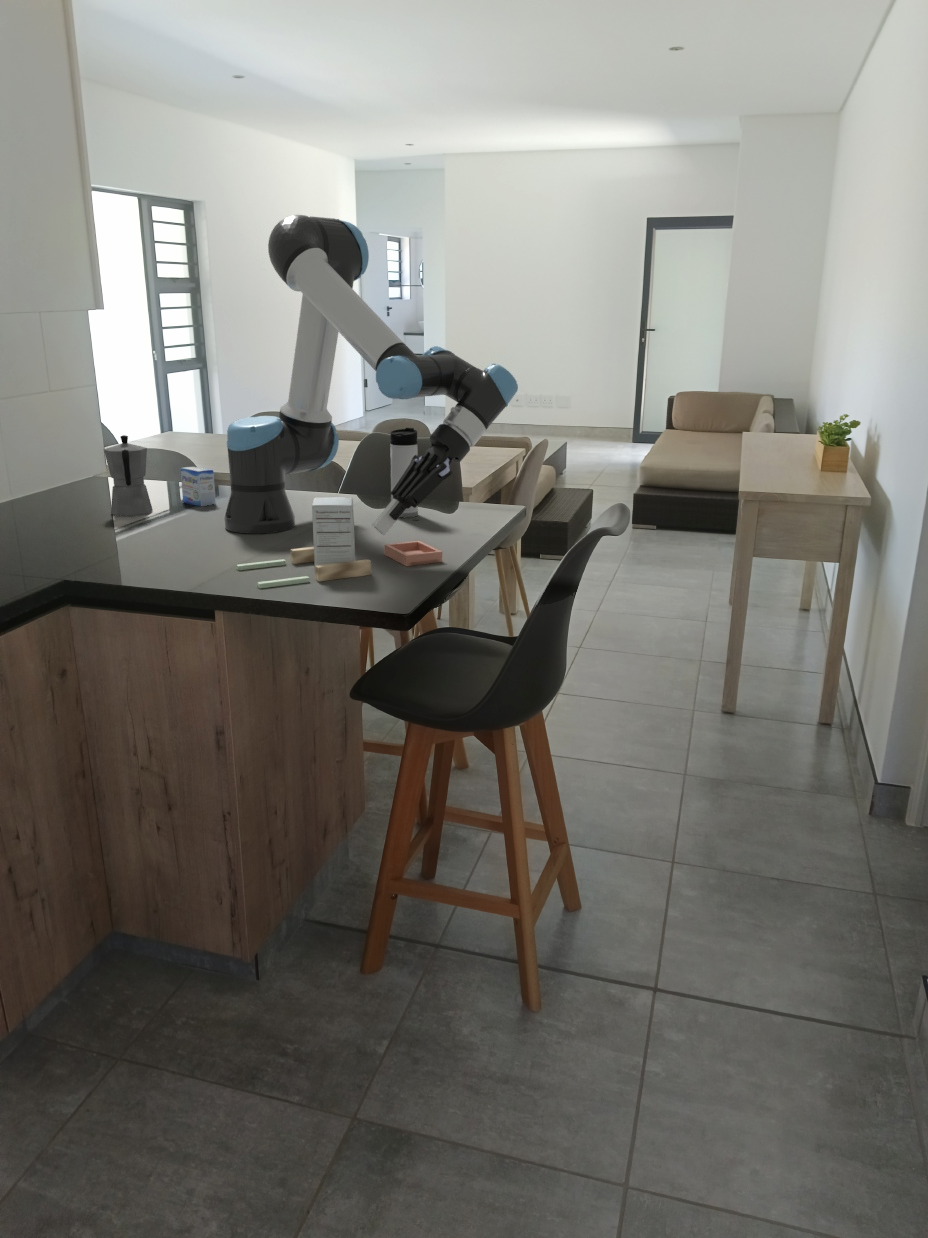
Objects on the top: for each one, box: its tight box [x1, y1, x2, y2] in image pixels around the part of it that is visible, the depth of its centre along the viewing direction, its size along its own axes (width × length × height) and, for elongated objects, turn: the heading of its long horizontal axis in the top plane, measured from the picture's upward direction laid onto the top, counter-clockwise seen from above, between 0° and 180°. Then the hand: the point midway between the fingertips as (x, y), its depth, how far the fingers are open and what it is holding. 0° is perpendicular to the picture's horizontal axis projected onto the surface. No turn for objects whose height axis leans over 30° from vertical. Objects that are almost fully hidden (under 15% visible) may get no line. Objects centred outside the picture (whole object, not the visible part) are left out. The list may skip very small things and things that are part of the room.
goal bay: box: [235, 558, 311, 589], centre depth 165 cm, size 9×14×1 cm, turn 29°
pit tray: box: [383, 540, 443, 567], centre depth 178 cm, size 8×10×2 cm
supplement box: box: [311, 496, 356, 567], centre depth 169 cm, size 7×7×13 cm
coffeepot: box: [103, 434, 153, 517], centre depth 213 cm, size 15×9×18 cm, turn 19°
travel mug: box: [389, 427, 419, 519], centre depth 214 cm, size 6×7×20 cm
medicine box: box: [180, 466, 217, 507], centre depth 227 cm, size 8×4×9 cm, turn 50°
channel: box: [290, 546, 372, 582], centre depth 170 cm, size 10×15×2 cm, turn 29°
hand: (378, 529), depth 173 cm, fingers closed
